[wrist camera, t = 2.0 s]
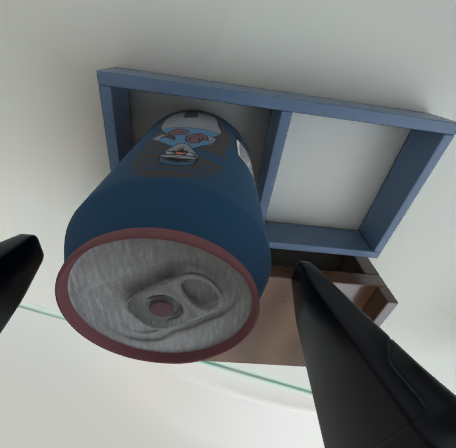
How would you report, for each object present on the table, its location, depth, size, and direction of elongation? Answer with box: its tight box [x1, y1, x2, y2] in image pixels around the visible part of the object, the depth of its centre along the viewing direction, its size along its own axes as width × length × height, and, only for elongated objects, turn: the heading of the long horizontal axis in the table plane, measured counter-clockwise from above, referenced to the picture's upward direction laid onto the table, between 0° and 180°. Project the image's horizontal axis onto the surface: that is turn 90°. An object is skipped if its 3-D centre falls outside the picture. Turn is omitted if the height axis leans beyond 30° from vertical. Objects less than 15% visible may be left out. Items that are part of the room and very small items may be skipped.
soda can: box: [55, 110, 271, 364], centre depth 12 cm, size 7×7×12 cm
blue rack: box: [97, 67, 456, 258], centre depth 16 cm, size 19×10×3 cm, turn 83°
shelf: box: [202, 255, 398, 367], centre depth 22 cm, size 16×12×6 cm
